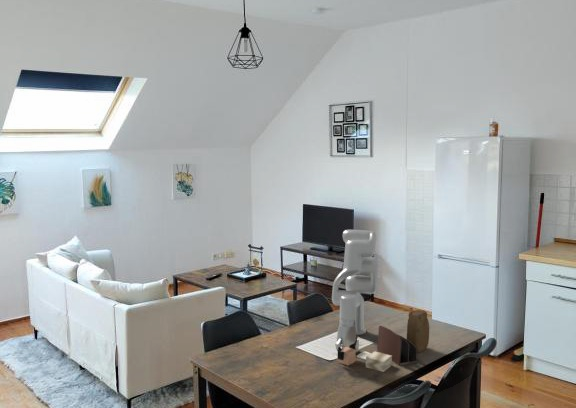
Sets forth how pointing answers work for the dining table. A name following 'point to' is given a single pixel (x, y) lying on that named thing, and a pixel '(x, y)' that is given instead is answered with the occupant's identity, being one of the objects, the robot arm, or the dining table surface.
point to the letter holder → (396, 347)
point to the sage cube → (356, 345)
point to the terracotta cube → (348, 356)
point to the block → (418, 329)
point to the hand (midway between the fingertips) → (346, 356)
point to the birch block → (378, 361)
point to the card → (363, 355)
